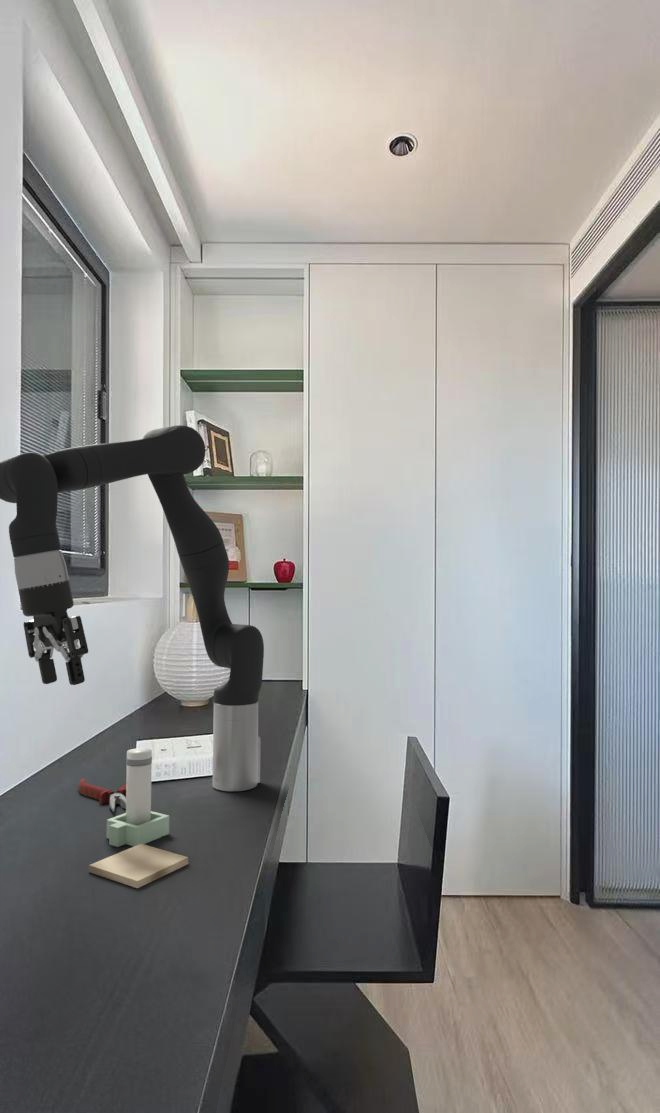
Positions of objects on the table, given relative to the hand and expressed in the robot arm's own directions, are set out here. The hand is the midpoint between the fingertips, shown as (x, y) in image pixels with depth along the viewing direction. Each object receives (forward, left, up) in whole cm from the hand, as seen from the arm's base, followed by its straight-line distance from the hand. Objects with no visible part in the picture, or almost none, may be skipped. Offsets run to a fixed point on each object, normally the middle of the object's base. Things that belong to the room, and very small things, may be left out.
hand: (63, 683), depth 112 cm
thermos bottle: (-11, +5, -26) cm, 29 cm away
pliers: (-22, -16, -27) cm, 38 cm away
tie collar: (-11, +5, -26) cm, 29 cm away
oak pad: (-2, +15, -26) cm, 30 cm away
